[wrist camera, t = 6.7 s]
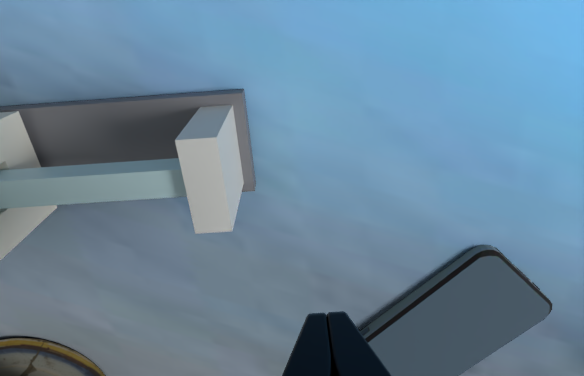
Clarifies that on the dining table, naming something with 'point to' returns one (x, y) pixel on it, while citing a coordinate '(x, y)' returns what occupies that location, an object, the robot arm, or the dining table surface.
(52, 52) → the dining table surface
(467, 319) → the smartphone
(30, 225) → the white block
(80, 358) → the apothecary jar
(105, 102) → the grey piece
